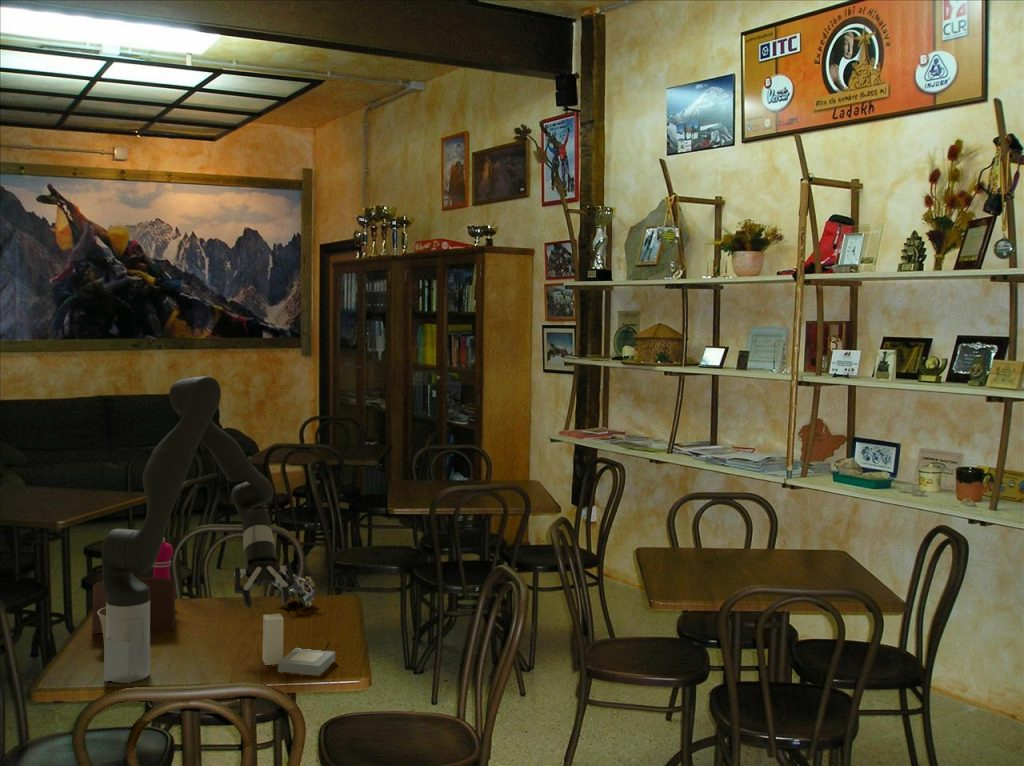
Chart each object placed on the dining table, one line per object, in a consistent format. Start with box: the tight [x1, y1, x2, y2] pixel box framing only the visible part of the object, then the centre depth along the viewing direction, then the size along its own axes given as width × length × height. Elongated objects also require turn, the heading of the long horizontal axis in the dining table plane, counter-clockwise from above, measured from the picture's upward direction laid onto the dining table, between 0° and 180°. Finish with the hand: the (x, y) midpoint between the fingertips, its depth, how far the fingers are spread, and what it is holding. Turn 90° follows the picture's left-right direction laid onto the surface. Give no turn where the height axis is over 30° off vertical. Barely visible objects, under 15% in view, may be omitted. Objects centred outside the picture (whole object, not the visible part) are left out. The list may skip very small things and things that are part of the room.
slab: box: [277, 647, 336, 675], centre depth 235 cm, size 10×10×3 cm
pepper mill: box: [152, 537, 174, 579], centre depth 277 cm, size 7×7×20 cm
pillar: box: [262, 613, 285, 665], centre depth 238 cm, size 4×4×11 cm
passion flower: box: [274, 573, 316, 608], centre depth 283 cm, size 11×11×12 cm
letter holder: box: [91, 576, 176, 635], centre depth 261 cm, size 10×20×14 cm, turn 108°
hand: (267, 604), depth 244 cm, fingers open, 8 cm apart
